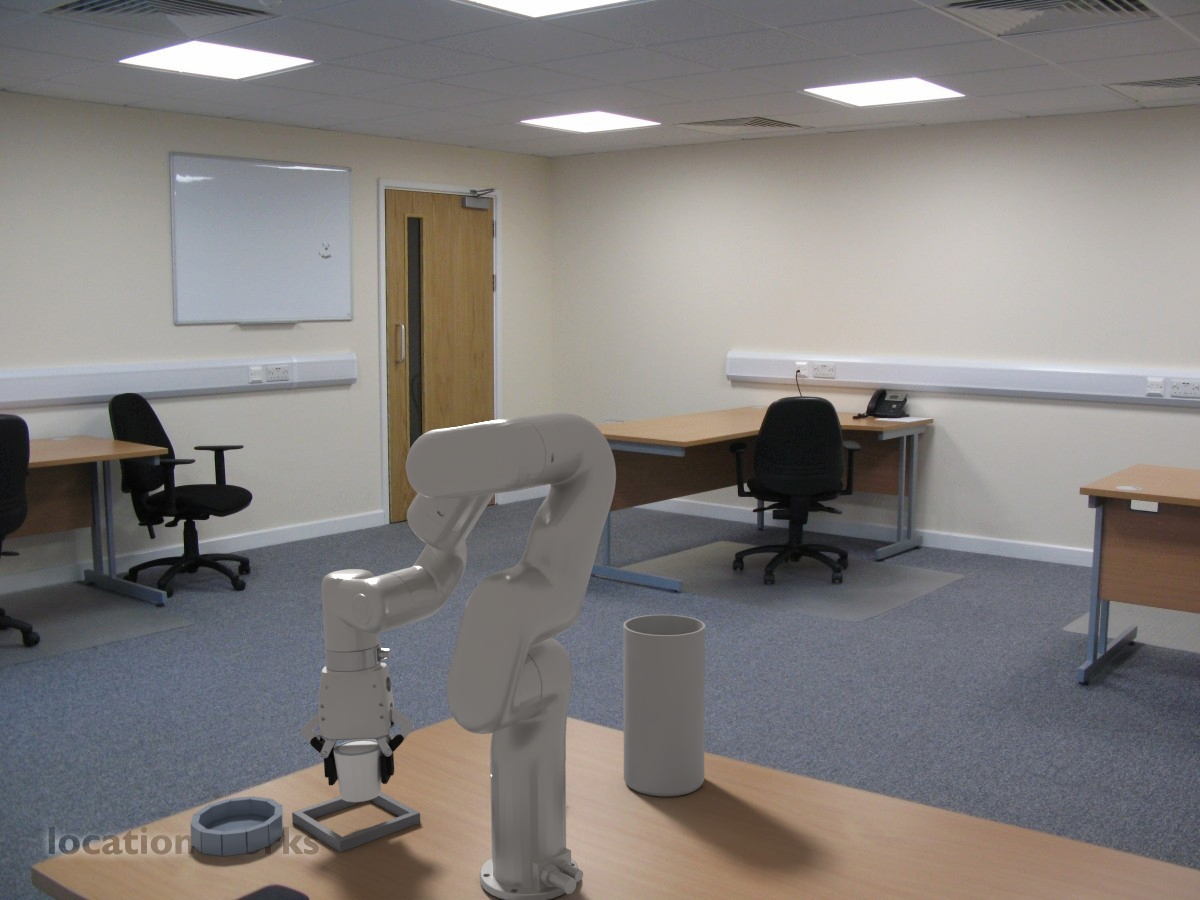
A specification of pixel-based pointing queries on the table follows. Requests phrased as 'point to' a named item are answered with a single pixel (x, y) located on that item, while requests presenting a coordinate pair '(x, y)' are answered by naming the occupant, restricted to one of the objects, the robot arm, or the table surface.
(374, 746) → the white cup
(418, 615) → the robot arm
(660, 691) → the cylinder vase
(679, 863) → the table surface
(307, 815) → the grey square frame
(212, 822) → the bowl
